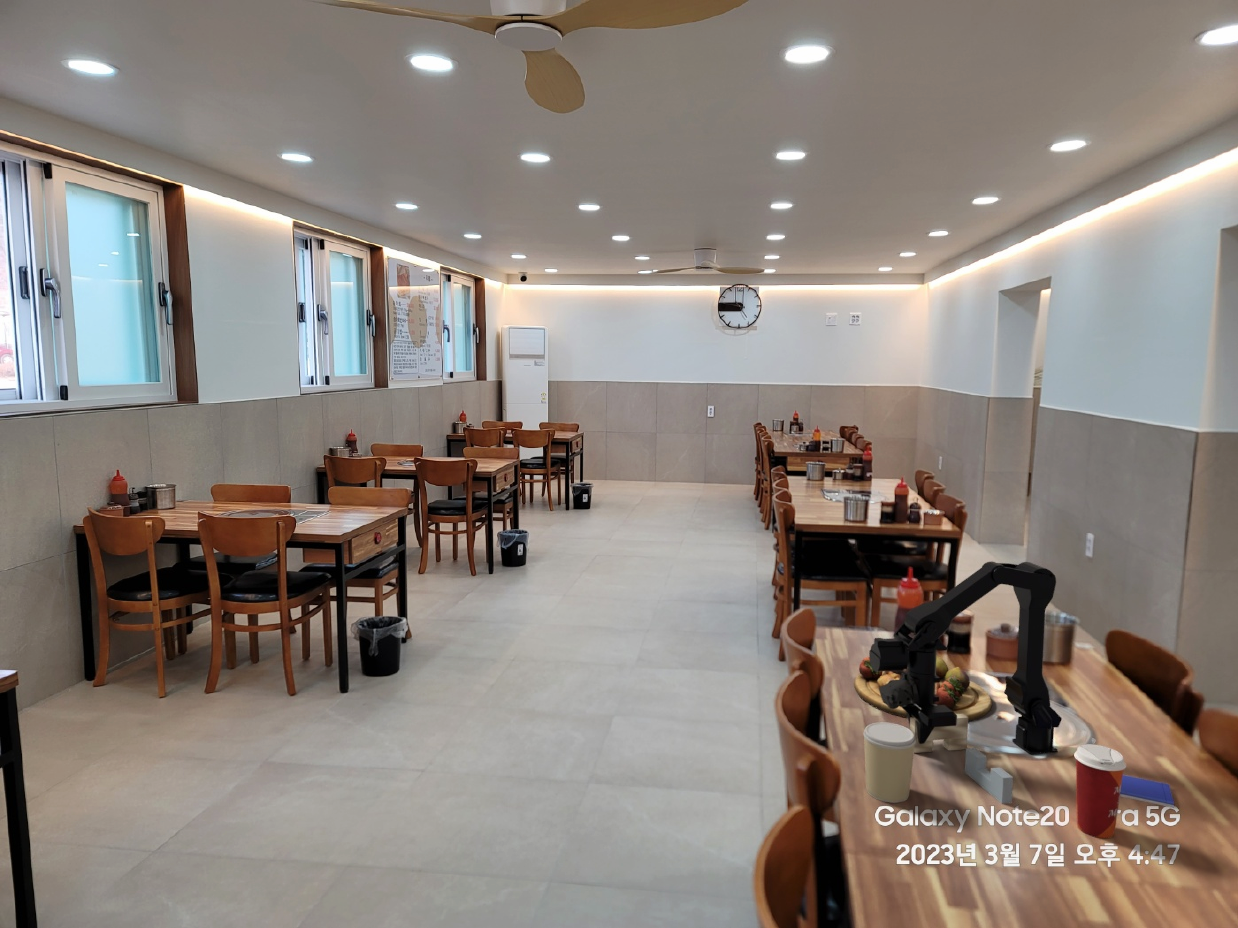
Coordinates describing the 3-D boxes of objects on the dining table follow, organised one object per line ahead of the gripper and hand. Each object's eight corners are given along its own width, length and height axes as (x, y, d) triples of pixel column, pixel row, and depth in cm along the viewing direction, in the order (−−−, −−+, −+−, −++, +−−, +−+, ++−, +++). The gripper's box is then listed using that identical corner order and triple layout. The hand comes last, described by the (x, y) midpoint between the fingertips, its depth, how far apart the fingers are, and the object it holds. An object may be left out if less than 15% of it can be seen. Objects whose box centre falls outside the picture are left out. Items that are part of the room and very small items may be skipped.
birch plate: (961, 744, 170) (962, 713, 169) (966, 748, 168) (968, 717, 167) (909, 748, 168) (910, 716, 168) (913, 752, 166) (915, 720, 166)
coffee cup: (922, 792, 151) (924, 731, 150) (899, 810, 144) (901, 747, 143) (876, 774, 157) (878, 717, 156) (852, 791, 151) (854, 731, 150)
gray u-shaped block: (974, 771, 159) (975, 747, 158) (1011, 802, 147) (1013, 777, 146) (964, 772, 158) (965, 748, 158) (1001, 803, 147) (1003, 777, 146)
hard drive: (1095, 786, 151) (1174, 802, 145) (1093, 767, 158) (1168, 782, 152) (1094, 793, 151) (1173, 810, 145) (1093, 775, 158) (1168, 790, 152)
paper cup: (1129, 844, 134) (1134, 765, 132) (1079, 839, 135) (1084, 760, 134) (1110, 819, 141) (1115, 744, 140) (1063, 814, 143) (1067, 740, 141)
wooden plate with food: (829, 695, 198) (830, 663, 197) (893, 663, 220) (894, 634, 219) (954, 739, 175) (956, 704, 174) (1012, 699, 196) (1014, 667, 195)
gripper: (865, 656, 174) (863, 724, 176) (907, 688, 156) (904, 764, 157) (912, 653, 175) (910, 721, 177) (960, 685, 157) (956, 760, 159)
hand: (918, 740), depth 167 cm, fingers closed on birch plate, 2 cm apart
